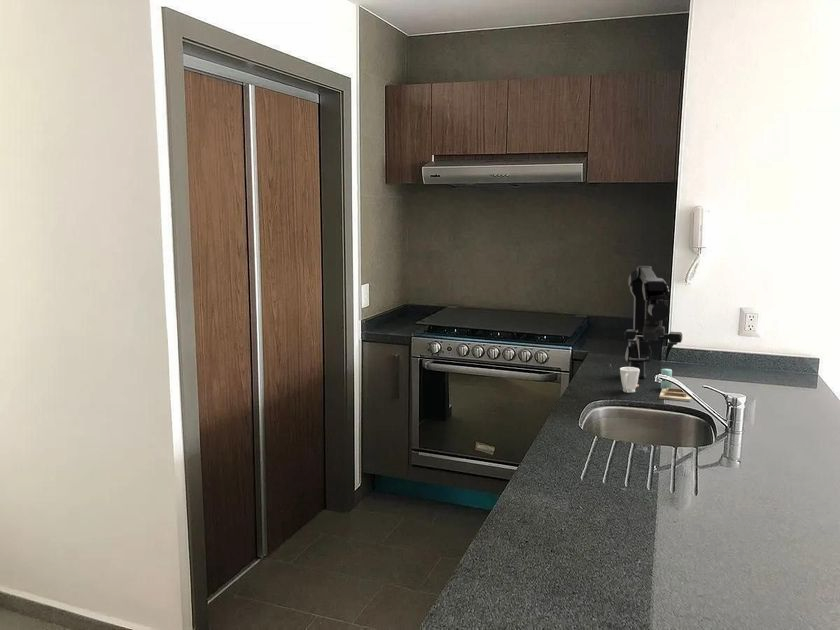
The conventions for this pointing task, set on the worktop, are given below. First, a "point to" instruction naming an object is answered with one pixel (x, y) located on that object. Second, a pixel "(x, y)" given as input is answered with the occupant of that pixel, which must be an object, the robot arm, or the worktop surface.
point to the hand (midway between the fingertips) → (652, 360)
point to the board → (674, 394)
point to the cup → (629, 378)
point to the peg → (664, 383)
